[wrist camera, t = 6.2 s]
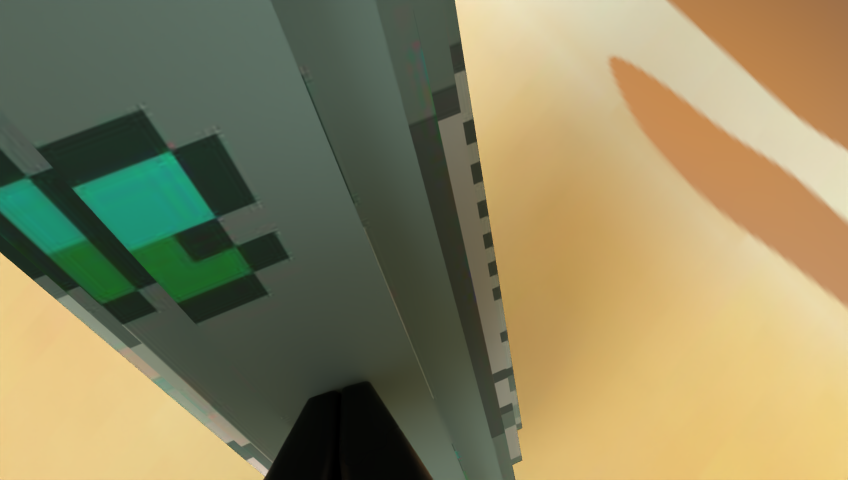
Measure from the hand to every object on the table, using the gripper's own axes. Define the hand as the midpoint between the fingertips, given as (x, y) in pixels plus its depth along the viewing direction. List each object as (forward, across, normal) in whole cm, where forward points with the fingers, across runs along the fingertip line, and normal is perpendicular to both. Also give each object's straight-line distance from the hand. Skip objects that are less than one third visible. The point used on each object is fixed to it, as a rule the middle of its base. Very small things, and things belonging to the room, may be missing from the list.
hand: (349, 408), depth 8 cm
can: (+6, 0, +7) cm, 9 cm away
